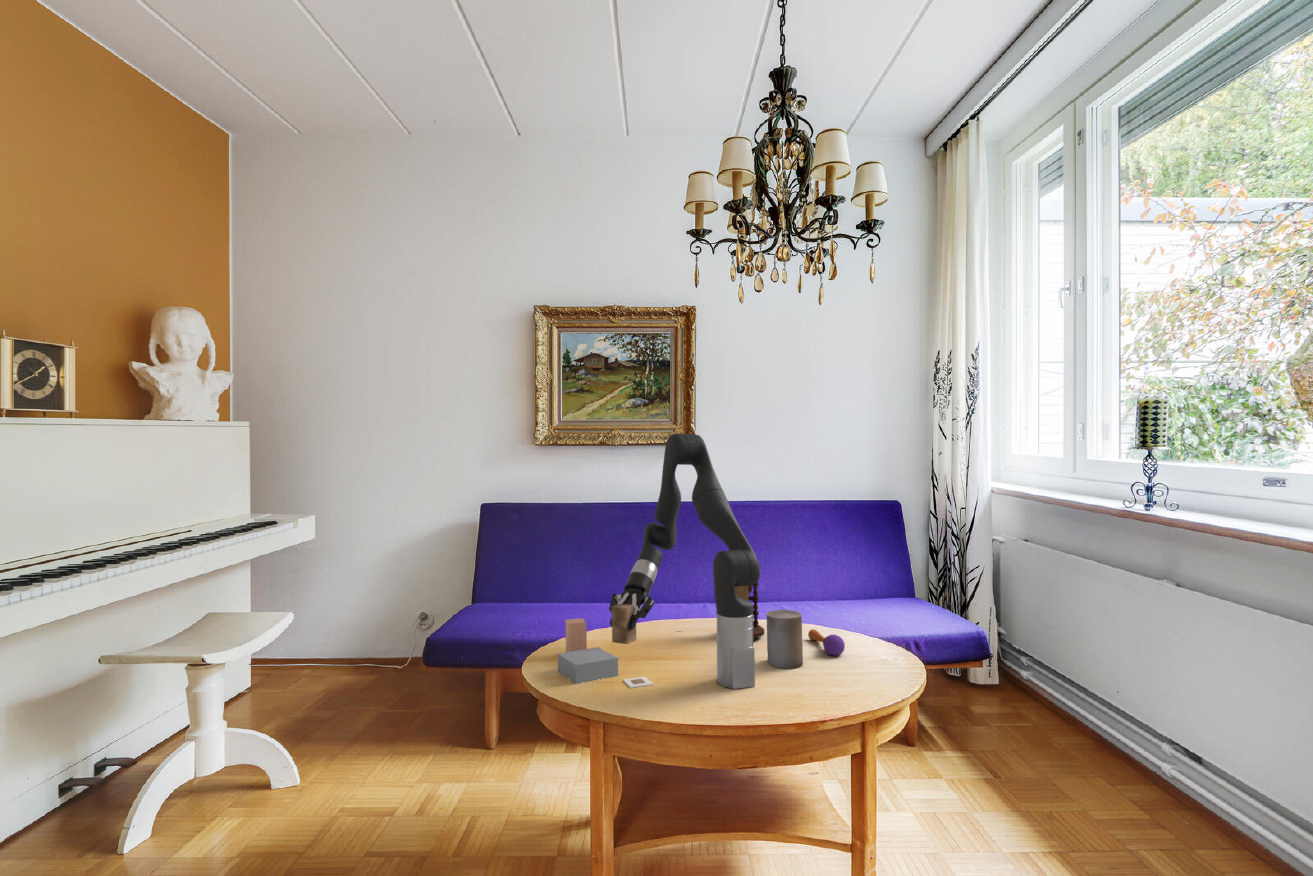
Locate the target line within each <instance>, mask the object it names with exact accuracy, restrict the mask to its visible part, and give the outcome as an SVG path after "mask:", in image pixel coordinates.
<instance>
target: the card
mask: <svg viewBox="0 0 1313 876" xmlns="http://www.w3.org/2000/svg"><path fill="white" fill-rule="evenodd" d="M622 682H624V684H626V686H627V687H629V688H630V689H633V688H635V689H636V688H642V687H648V686H653V685H654V683H653V682H652V681H651V680H650V679H649V678H647V677H646V676H640V677H632V678H625V679H624V678H623V679H622Z"/></svg>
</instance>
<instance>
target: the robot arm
mask: <svg viewBox="0 0 1313 876" xmlns="http://www.w3.org/2000/svg"><path fill="white" fill-rule="evenodd" d="M663 454H664V456H663V463H662V464H663V465H662V473H661V484H660V491H659V496H658V500H657V504H656V508H655V509H654V510H655V511H654V517H655V520H656V521H657V522H658V523H657V522H656V521H655V522H653V521H651V522H650V523H648V524H647V525H646V526H645V527H644V530H643V531H644V532H643V539H642V547H641V550H640V553H639V555H638V558H637V560H636V562H635V564H634V565H633V567H632V569H631V571H630V573H629V575H628V578H627V580H626V582H625V584H624V589H623V591H622V592H621V593H620V594H616V593H612V594H611V598H610V603H609V607H608V610H609V611H610V613H611V614H612V606H615V605H618V604H632V605H634V610H633V615H631V617H630V620H629V622H628V624H627V628H628V629H629V630H632V629H633V628H634V627H635V625H636V626H637V623H638V620H640V619H645V618H646V617H647V615H648V614H649V612H650V611H651V610H652V608H653V606H654V605H655V601H654V599H653V598H652V596H649V595H650V593H651V589H652V588H653V585H654V582H655V580H656V577H657V575H658V571H659V568H660V566H661V564H662V562H663V558H664V554H663V553H662V551H661V550H660V549H662V550H664V551H665V550H666V551H669V550H672V548H674V546H675V545H676V544H677V539H678V538H677V533H678V532H677V519H678V515H679V511H680V508H681V503H682V493H681V489H680V487H679V484H678V482H677V479H676V470H677V467H678V465H683V466H688V465H689V466H690V465H691V466H692V467H693V468H694V470H695V472H696V477H697V478H696V481H695V483H694V487H693V489H692V495H691V501H692V504H693V507H694V510H695V513H696V515H697V518H698V519H699V521H700V522H701V523H702V524H703V526H705V527H706V529H708V530H709V531H710V532H711V533H713V534H714V535H715V536H716V537H717V538H719V539H720V540H722V542H723V543H724V544H725V545H726V547H727V548H728V550H720V551H718V552H717V553H716V554H715V556H714V559H713V562H712V563H713V564H712V572H713V573H712V575H713V591H714V593H713V594H714V602H715V608H716V669H717V671H716V680H717V684H719V685H720V686H722V687H725V688H731V689H732V690H737V689H745V688H750V687H755V686H756V681H755V680H756V678H755V677H756V674H755V673H756V669H755V668H756V666H755V665H756V663H755V662H756V661H755V658H756V657H755V656H756V655H755V647H754V642H753V621H754V618H753V617H754V615H753V606H754V604H753V602H751V600H750V601H748V600H745V599H741V598H738V597H737V596H736V594H735V587H739V586H748V585H753V584H755V583H757V582H759V580H760V577H761V568H760V563H759V560H758V558H757V556H756V553H755V552H754V550H753V548H752V546H751V544H750V542H749V541H748V539H747V538H746V536H745V533H744V532H743V531H742V529H741V526H740V525H739V522H738V520H737V519H736V517H735V515H734V512H733V511H732V508H731V505H730V503H729V501H728V498H727V495H726V494H725V492H724V489H723V488H722V486H721V483H720V481H719V479H718V476H717V474H716V471H715V470H714V467H713V464H712V461H711V457H710V454H709V451H708V449H707V446H706V443H705V441H704V439H703V437H702V436H700V435H698V434H695V433H672V434H670V435H669V436H668V438H667V441H666V443H665V447H664V453H663ZM659 548H660V549H659ZM752 604H753V605H752ZM609 624H610V627H611V628H612V617H611V618H610V621H609Z"/></svg>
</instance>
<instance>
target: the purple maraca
mask: <svg viewBox="0 0 1313 876" xmlns="http://www.w3.org/2000/svg"><path fill="white" fill-rule="evenodd" d="M807 635H808V639H810V640H811V639H812V640H811V641H814V640H815V642H819V643H822V645H823V646H822V647H823V649H824V651H825V652H826V653H827V655H830V656H831V655H833V656H832V657H838V655H839V656H841V655H842V654H843V653H844V652H845V648H846V647H845V640H844V639H843V638H842V637H841V636H839V635H837V634H829V635H827V636H823V634H821V633H820V632H819V631H818V630H817V629H813V628H812V629H810V630H809V631H808V634H807Z"/></svg>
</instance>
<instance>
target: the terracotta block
mask: <svg viewBox="0 0 1313 876" xmlns="http://www.w3.org/2000/svg"><path fill="white" fill-rule="evenodd" d="M587 626H588V625H587V621H586V620H585V619H584V618H571V619H568V618H567V619H565V652H571V651H577V650H583V649H588V648H587V642H588V641H587V628H588V627H587Z"/></svg>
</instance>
